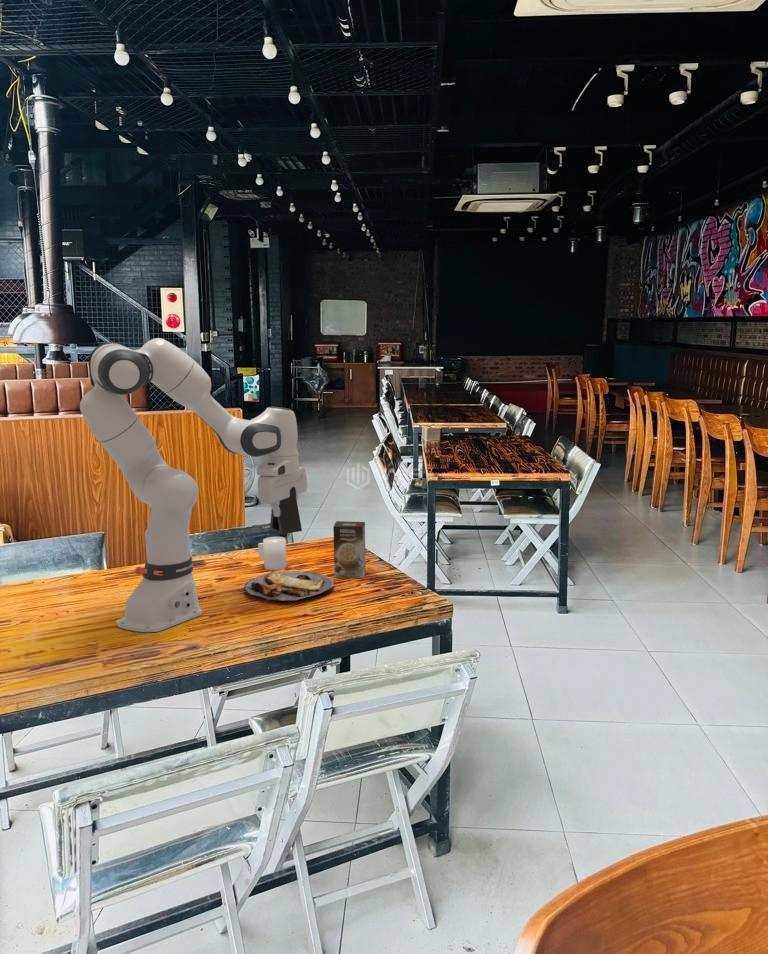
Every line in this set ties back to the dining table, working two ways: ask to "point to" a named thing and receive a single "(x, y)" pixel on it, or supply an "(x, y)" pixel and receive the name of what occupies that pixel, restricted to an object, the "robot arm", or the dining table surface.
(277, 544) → the white ceramic cup
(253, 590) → the food plate
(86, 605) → the dining table surface
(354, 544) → the coffee box
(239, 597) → the dining table surface
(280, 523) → the door stopper
